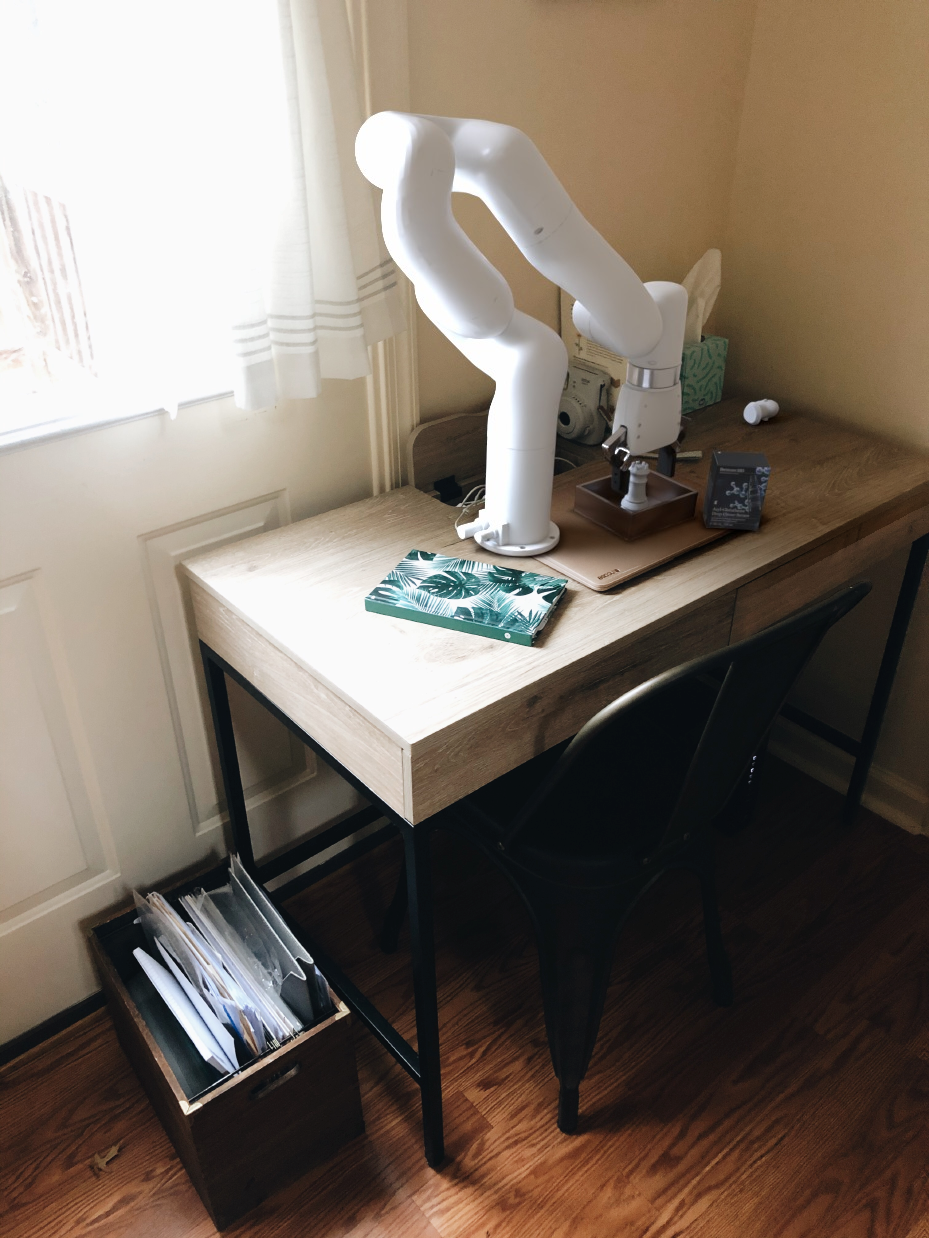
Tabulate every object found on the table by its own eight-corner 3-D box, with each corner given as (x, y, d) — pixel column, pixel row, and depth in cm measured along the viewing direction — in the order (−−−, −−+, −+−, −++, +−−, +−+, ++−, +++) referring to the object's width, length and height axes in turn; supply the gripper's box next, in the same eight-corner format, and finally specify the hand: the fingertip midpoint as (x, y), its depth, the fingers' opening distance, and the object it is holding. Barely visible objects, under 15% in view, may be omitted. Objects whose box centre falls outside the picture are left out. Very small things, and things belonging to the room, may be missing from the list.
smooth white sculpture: (761, 418, 188) (783, 418, 184) (734, 426, 184) (757, 426, 180) (760, 396, 187) (782, 395, 183) (733, 403, 183) (755, 403, 179)
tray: (628, 541, 141) (631, 515, 139) (573, 510, 149) (575, 485, 147) (694, 517, 148) (698, 491, 146) (638, 489, 156) (641, 465, 154)
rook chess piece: (632, 503, 151) (638, 456, 147) (654, 513, 148) (661, 465, 144) (613, 511, 149) (618, 463, 144) (635, 521, 146) (641, 472, 141)
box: (705, 529, 145) (717, 464, 139) (701, 512, 149) (712, 449, 144) (758, 532, 144) (772, 467, 138) (752, 515, 149) (765, 451, 143)
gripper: (676, 355, 143) (664, 460, 153) (590, 379, 135) (583, 489, 145) (714, 367, 138) (700, 476, 148) (627, 394, 130) (618, 507, 139)
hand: (642, 482), depth 146 cm, fingers open, 9 cm apart
